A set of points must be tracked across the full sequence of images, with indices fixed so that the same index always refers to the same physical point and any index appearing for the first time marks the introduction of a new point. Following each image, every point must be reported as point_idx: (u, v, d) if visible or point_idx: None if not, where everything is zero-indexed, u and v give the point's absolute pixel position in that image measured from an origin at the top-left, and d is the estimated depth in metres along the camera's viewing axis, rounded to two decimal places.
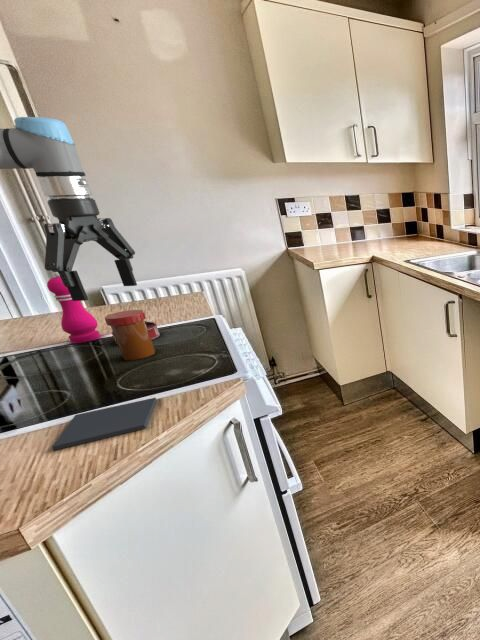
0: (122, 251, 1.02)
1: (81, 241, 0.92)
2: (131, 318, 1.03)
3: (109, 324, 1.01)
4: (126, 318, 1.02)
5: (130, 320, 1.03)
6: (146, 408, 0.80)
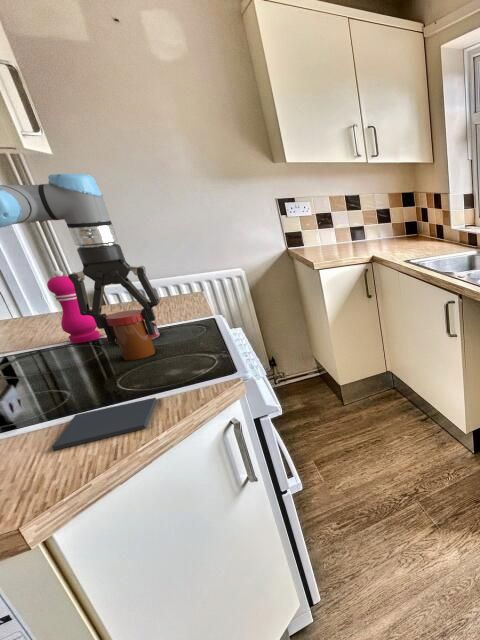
0: (141, 301, 1.04)
1: None
2: (131, 318, 1.03)
3: (109, 324, 1.01)
4: (126, 318, 1.02)
5: (130, 320, 1.03)
6: (146, 408, 0.80)
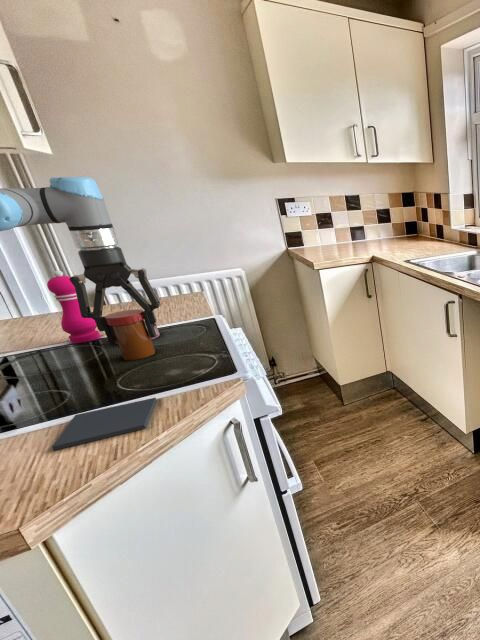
0: (142, 303, 1.04)
1: None
2: None
3: (132, 321, 1.03)
4: None
5: None
6: (146, 408, 0.80)
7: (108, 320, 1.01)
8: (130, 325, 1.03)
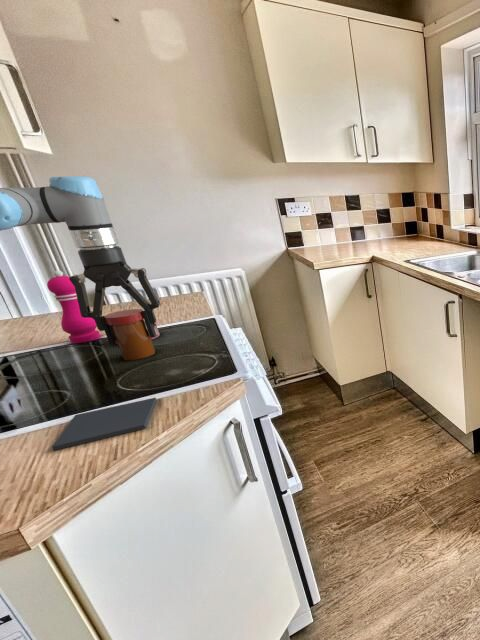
0: (142, 303, 1.04)
1: None
2: None
3: None
4: None
5: None
6: (146, 408, 0.80)
7: (132, 317, 1.03)
8: (130, 325, 1.03)
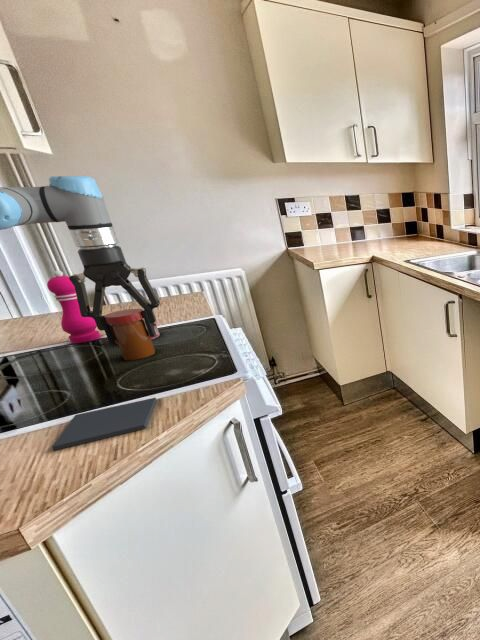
0: (141, 303, 1.04)
1: None
2: None
3: None
4: None
5: None
6: (146, 408, 0.80)
7: None
8: (130, 325, 1.03)
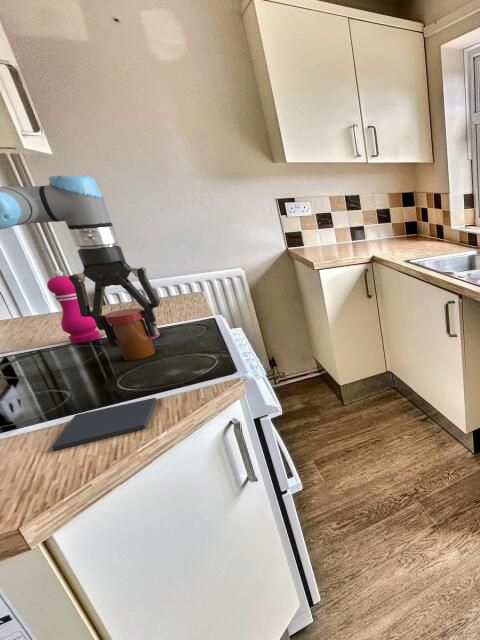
0: (141, 302, 1.04)
1: None
2: (114, 319, 1.01)
3: None
4: (110, 318, 1.01)
5: (113, 320, 1.01)
6: (146, 408, 0.80)
7: None
8: (130, 325, 1.03)
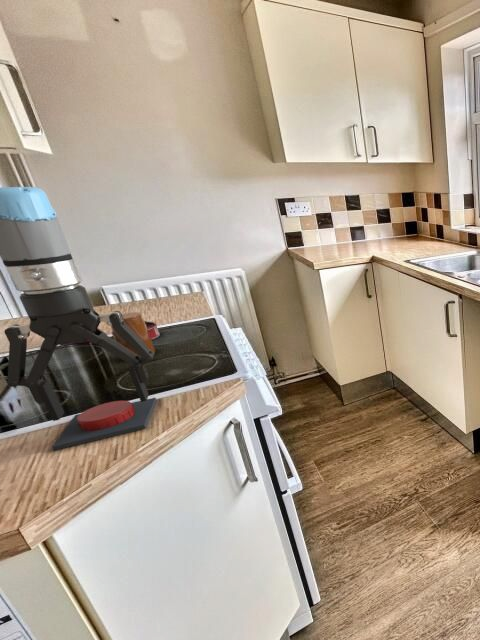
0: (126, 358, 0.74)
1: (44, 347, 0.68)
2: (92, 424, 0.73)
3: None
4: (85, 423, 0.73)
5: (90, 426, 0.73)
6: (146, 408, 0.80)
7: None
8: (130, 325, 1.03)
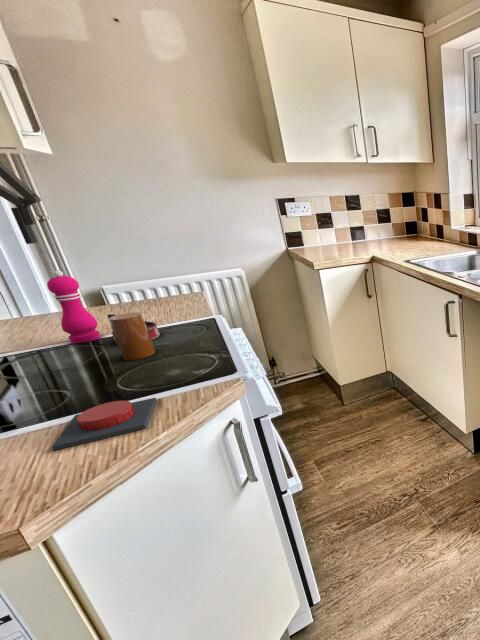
0: (7, 196, 0.77)
1: None
2: (92, 424, 0.73)
3: None
4: (85, 423, 0.73)
5: (90, 426, 0.73)
6: (146, 408, 0.80)
7: None
8: (130, 325, 1.03)
